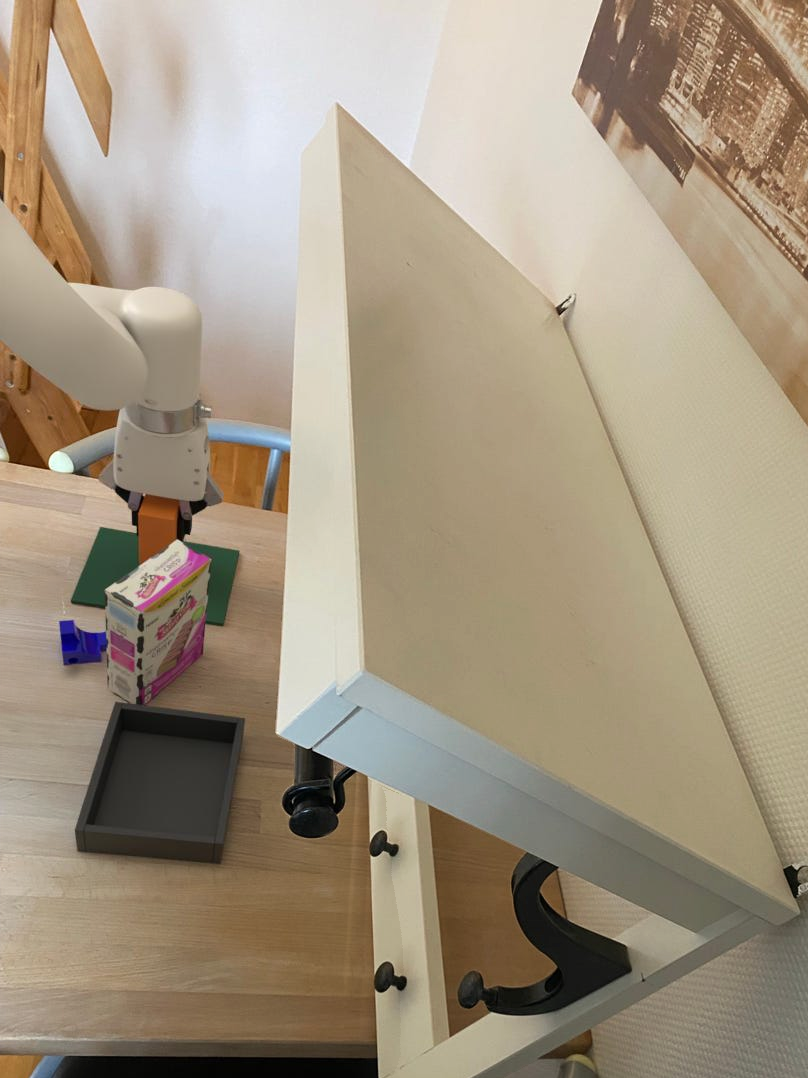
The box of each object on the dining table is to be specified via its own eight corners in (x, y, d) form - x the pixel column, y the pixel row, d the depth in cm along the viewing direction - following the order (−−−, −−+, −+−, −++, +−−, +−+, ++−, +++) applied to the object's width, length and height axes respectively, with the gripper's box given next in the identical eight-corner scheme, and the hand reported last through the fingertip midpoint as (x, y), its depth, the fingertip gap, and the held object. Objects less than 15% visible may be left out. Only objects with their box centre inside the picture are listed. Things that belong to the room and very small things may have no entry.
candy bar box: (142, 713, 95) (141, 613, 84) (106, 691, 96) (100, 589, 85) (206, 656, 103) (213, 557, 92) (173, 636, 104) (176, 535, 93)
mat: (70, 603, 103) (70, 600, 103) (100, 529, 113) (100, 526, 112) (223, 626, 107) (223, 623, 107) (239, 553, 117) (239, 550, 116)
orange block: (139, 563, 104) (138, 513, 98) (151, 527, 108) (151, 477, 103) (173, 569, 105) (174, 520, 99) (184, 532, 109) (185, 483, 104)
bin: (77, 853, 83) (74, 830, 80) (116, 725, 93) (115, 701, 90) (220, 865, 86) (223, 844, 83) (242, 741, 97) (245, 717, 94)
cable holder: (63, 667, 97) (61, 644, 94) (61, 644, 99) (59, 621, 96) (138, 660, 100) (138, 637, 97) (135, 638, 102) (134, 615, 99)
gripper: (246, 403, 96) (236, 525, 109) (89, 371, 93) (98, 501, 105) (236, 441, 91) (227, 564, 104) (70, 409, 88) (81, 541, 100)
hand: (162, 531), depth 105 cm, fingers closed on orange block, 4 cm apart
